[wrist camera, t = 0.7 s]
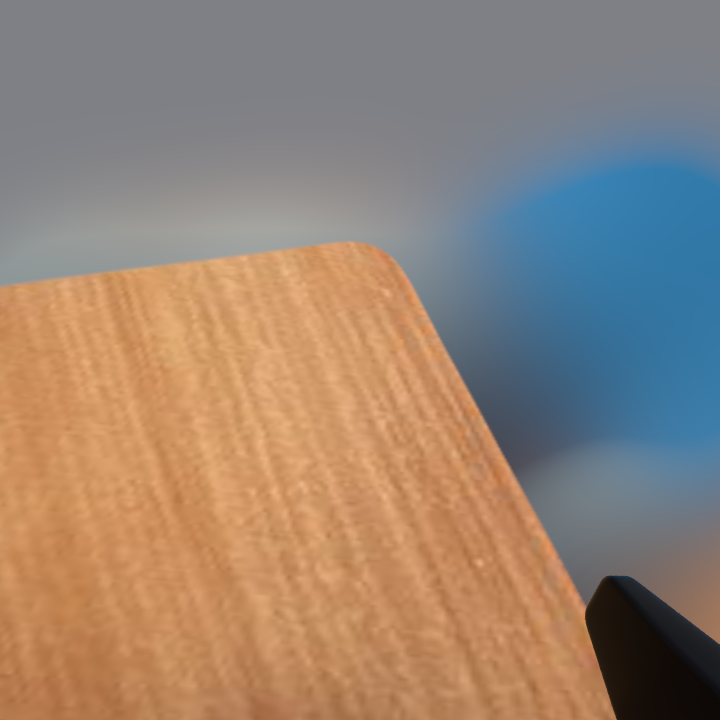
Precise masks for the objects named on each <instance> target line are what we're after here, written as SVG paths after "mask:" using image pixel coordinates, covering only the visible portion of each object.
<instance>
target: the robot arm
mask: <svg viewBox="0 0 720 720" xmlns="http://www.w3.org/2000/svg"><path fill="white" fill-rule="evenodd" d="M585 620H586V626H587V629H588V632H589V635H590V638H591V641H592V645H593V648H594V651H595V654H596V657H597V660H598V663H599V666H600V670H601V673H602V676H603V679H604V682H605V685H606V688H607V691H608V695H609V698H610V701H611V704H612V707H613V710H614V713H615V716H616V719H617V720H720V644H718V643H717V642H716V641H714V640H713V639H712V638H710V637H709V636H708V635H706V634H705V633H704V632H703V631H701V630H700V629H699V628H697V627H696V626H695V625H693V624H692V623H691V622H689V621H688V620H687V619H686V618H684V617H683V616H682V615H680V614H679V613H678V612H676V611H675V610H674V609H673V608H671V607H670V606H668V605H667V604H666V603H665V602H663V601H662V600H661V599H659V598H658V597H657V596H655V595H654V594H653V593H652V592H650V591H649V590H648V589H646V588H645V587H644V586H642V585H641V584H640V583H638V582H637V581H636V580H634V579H633V578H631V577H628V576H606V577H605V578H603V579H602V581H601V582H600V584H599V586H598V588H597V589H596V592H595V593H594V595H593V597H592V599H591V601H590V602H589V604H588V606H587V608H586V612H585Z"/></svg>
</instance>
